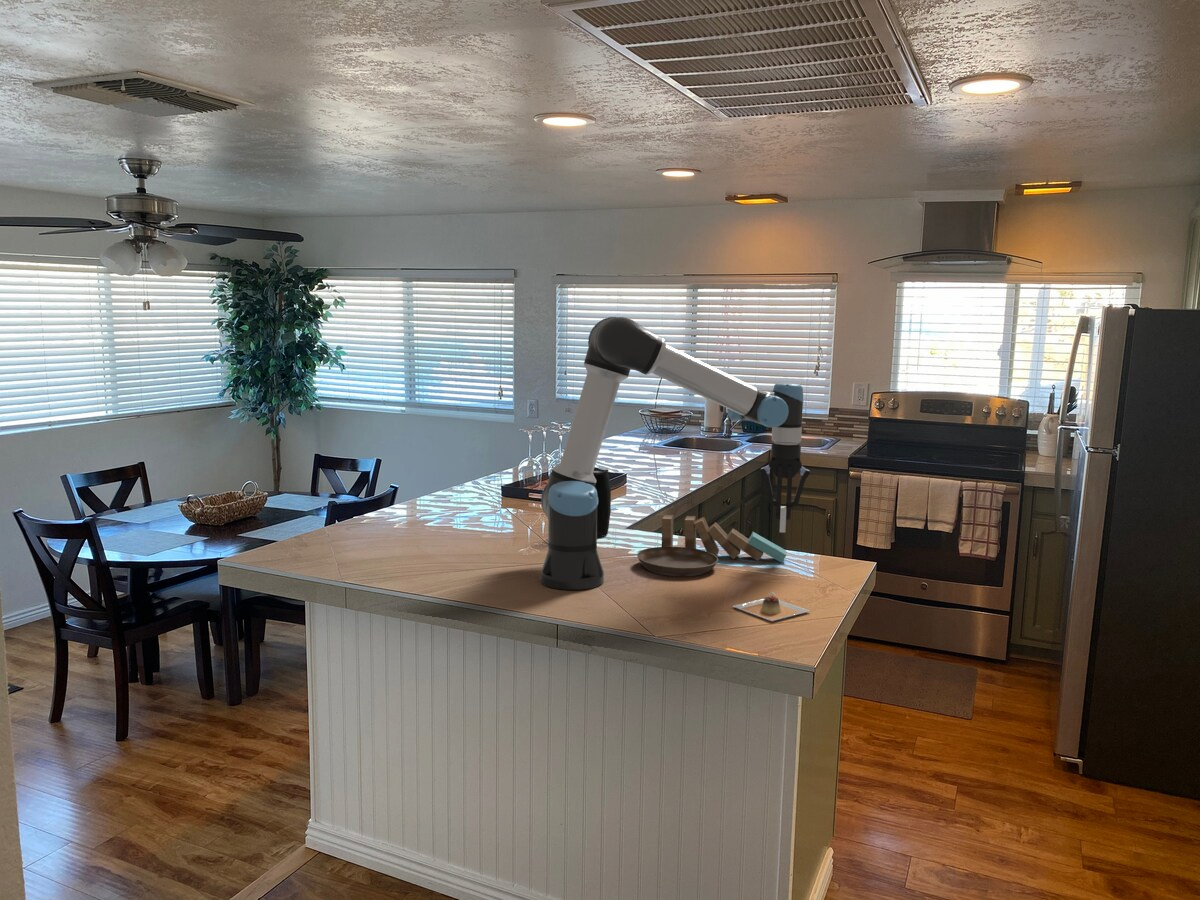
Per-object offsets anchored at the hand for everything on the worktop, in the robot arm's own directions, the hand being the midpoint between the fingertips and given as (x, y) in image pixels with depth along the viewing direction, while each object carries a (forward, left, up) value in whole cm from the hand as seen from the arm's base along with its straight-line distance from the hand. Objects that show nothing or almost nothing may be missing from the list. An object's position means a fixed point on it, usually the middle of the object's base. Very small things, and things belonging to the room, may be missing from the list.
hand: (782, 531), depth 234 cm
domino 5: (0, +5, -7) cm, 9 cm away
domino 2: (0, +24, -8) cm, 25 cm away
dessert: (-44, +2, -9) cm, 44 cm away
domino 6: (0, -1, -7) cm, 7 cm away
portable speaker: (+15, +54, -8) cm, 57 cm away
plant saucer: (-14, +26, -8) cm, 31 cm away
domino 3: (0, +18, -7) cm, 19 cm away
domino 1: (0, +30, -8) cm, 32 cm away
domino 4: (0, +12, -7) cm, 14 cm away
